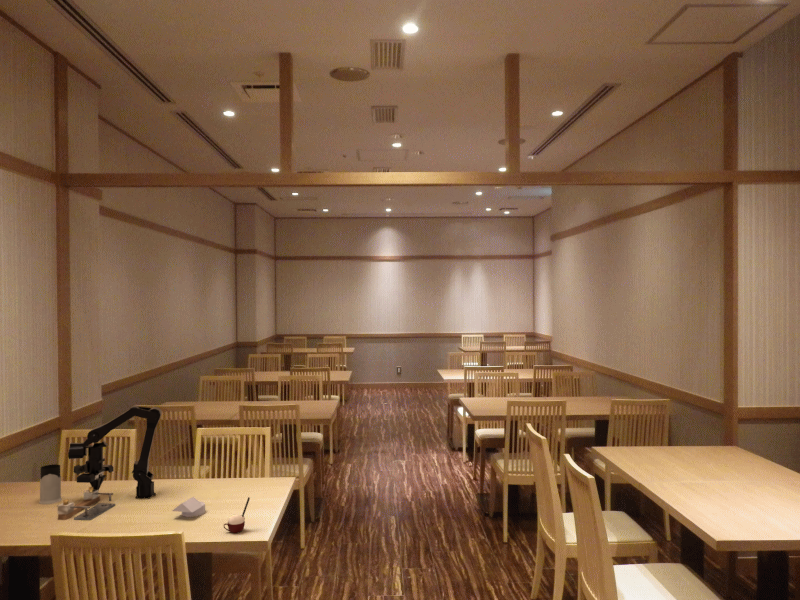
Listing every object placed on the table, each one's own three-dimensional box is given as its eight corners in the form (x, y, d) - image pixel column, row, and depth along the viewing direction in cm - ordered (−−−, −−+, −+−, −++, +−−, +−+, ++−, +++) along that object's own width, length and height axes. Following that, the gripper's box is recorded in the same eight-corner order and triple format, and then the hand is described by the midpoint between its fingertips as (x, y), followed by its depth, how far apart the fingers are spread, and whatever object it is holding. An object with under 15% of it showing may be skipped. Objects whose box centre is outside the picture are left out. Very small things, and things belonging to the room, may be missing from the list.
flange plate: (115, 505, 260) (115, 503, 260) (90, 520, 242) (90, 517, 242) (99, 505, 260) (99, 502, 260) (74, 519, 242) (74, 517, 242)
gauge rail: (118, 500, 266) (117, 484, 266) (85, 520, 242) (85, 502, 242) (91, 500, 267) (91, 484, 267) (57, 519, 243) (57, 502, 243)
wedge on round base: (192, 521, 240) (209, 510, 253) (192, 503, 240) (209, 493, 253) (171, 519, 242) (189, 508, 255) (171, 502, 242) (189, 492, 255)
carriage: (115, 499, 264) (115, 486, 264) (110, 502, 259) (110, 489, 260) (89, 498, 265) (89, 485, 265) (83, 502, 260) (83, 488, 260)
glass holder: (37, 505, 260) (37, 470, 260) (41, 496, 273) (41, 462, 273) (61, 502, 264) (61, 467, 264) (63, 493, 277) (63, 460, 277)
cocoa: (222, 535, 226) (220, 503, 225) (228, 528, 232) (226, 497, 232) (247, 534, 225) (246, 502, 225) (252, 527, 232) (250, 496, 231)
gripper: (90, 452, 276) (90, 486, 276) (64, 462, 257) (64, 499, 257) (114, 452, 275) (114, 487, 275) (89, 463, 257) (89, 500, 256)
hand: (95, 493), depth 266 cm, fingers closed
